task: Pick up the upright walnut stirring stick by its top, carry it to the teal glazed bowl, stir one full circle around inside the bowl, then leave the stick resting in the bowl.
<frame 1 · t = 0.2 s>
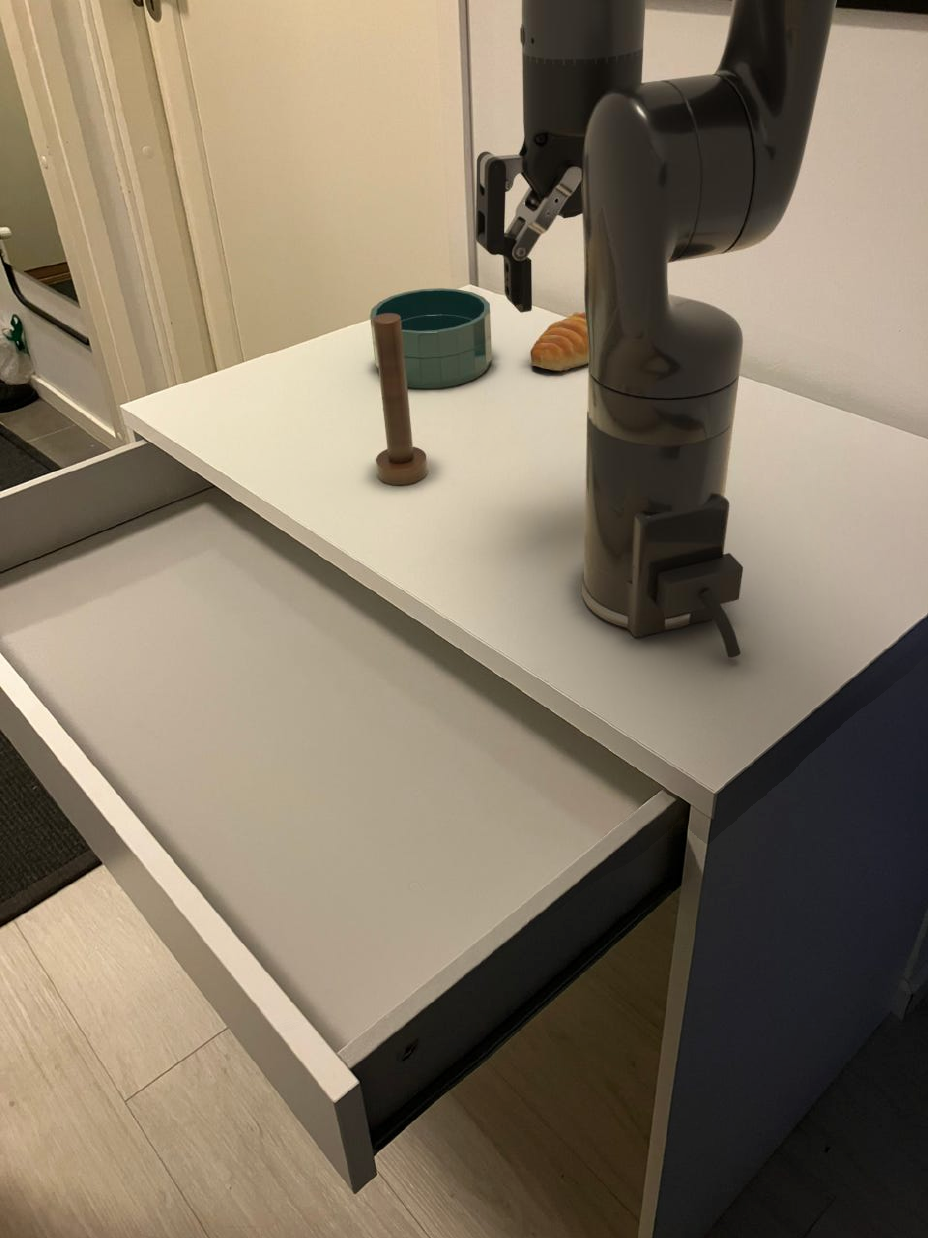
hand: (578, 299, 73), 17 cm above the table, tool pointing down, fingers open, 8 cm apart
pastry: (572, 358, 107), on the table
stick: (402, 472, 89), on the table
bowl: (434, 364, 107), on the table
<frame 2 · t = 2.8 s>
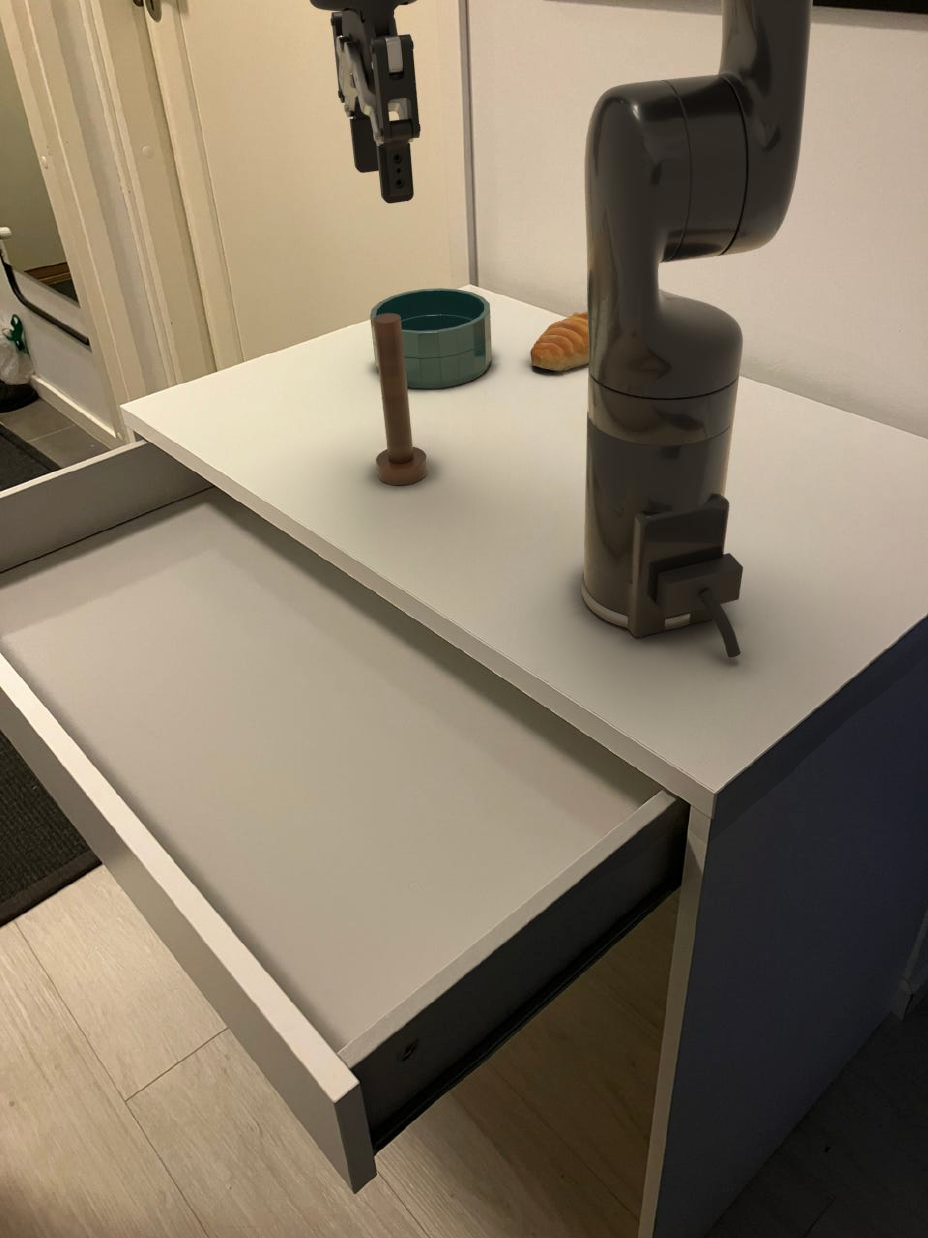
hand: (383, 185, 74), 24 cm above the table, tool pointing down, fingers open, 8 cm apart
nothing on the table moved.
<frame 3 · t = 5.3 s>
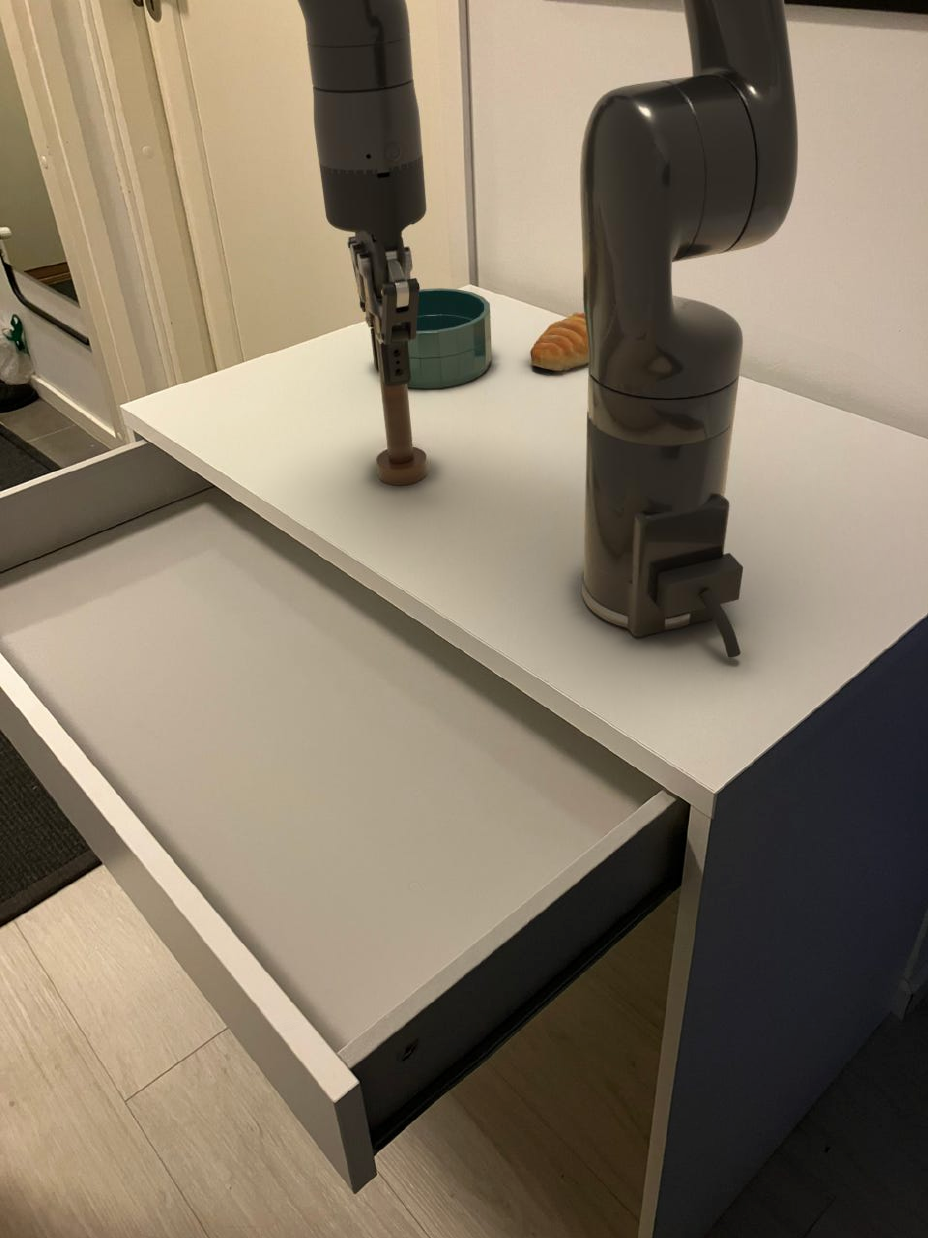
hand: (393, 376, 84), 9 cm above the table, tool pointing down, fingers closed on stick, 2 cm apart
stick: (402, 472, 89), on the table, touching gripper
everything else where it was.
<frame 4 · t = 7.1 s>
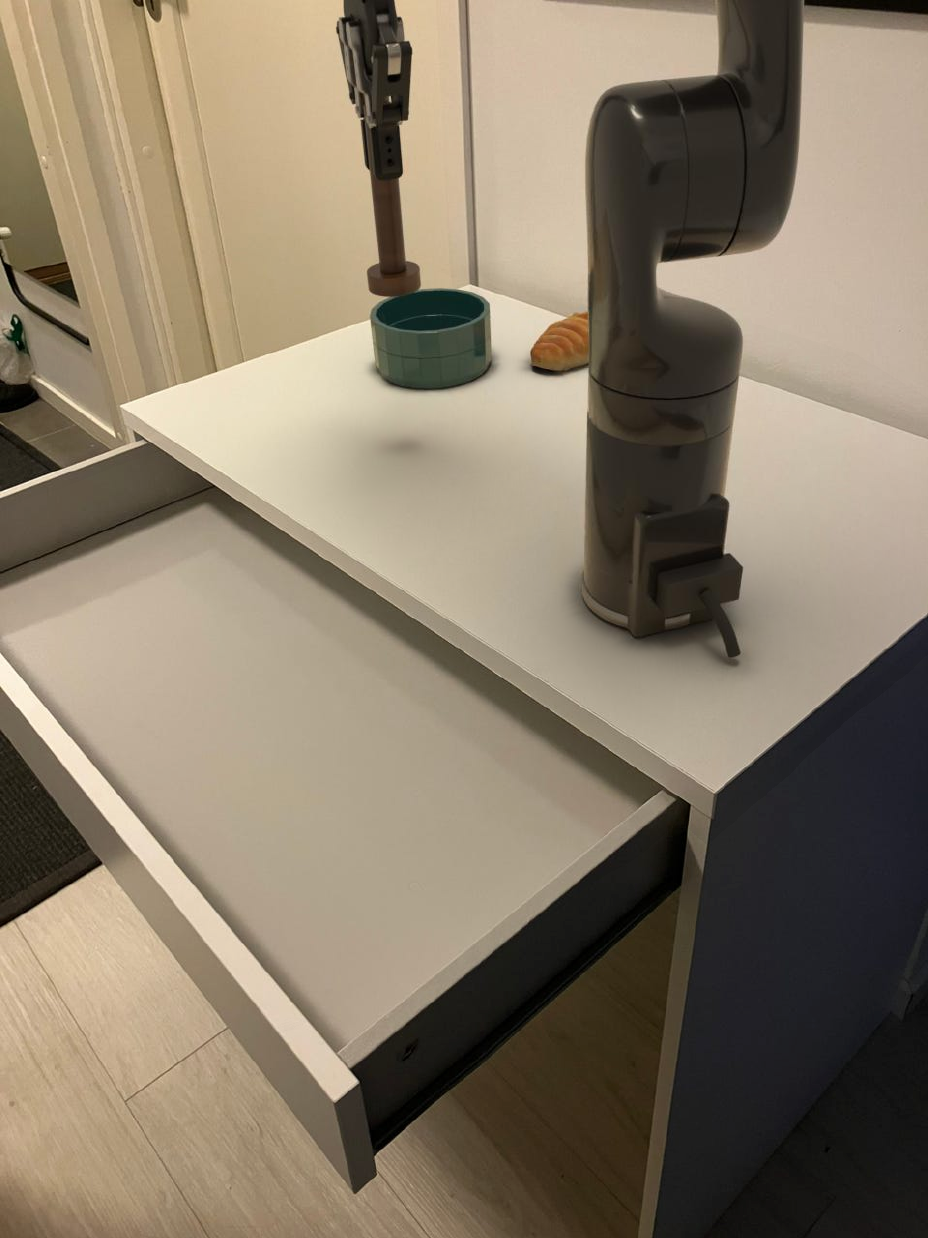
hand: (384, 172, 79), 23 cm above the table, tool pointing down, fingers closed on stick
stick: (394, 287, 85), point 14 cm above the table, touching gripper
everything else where it was.
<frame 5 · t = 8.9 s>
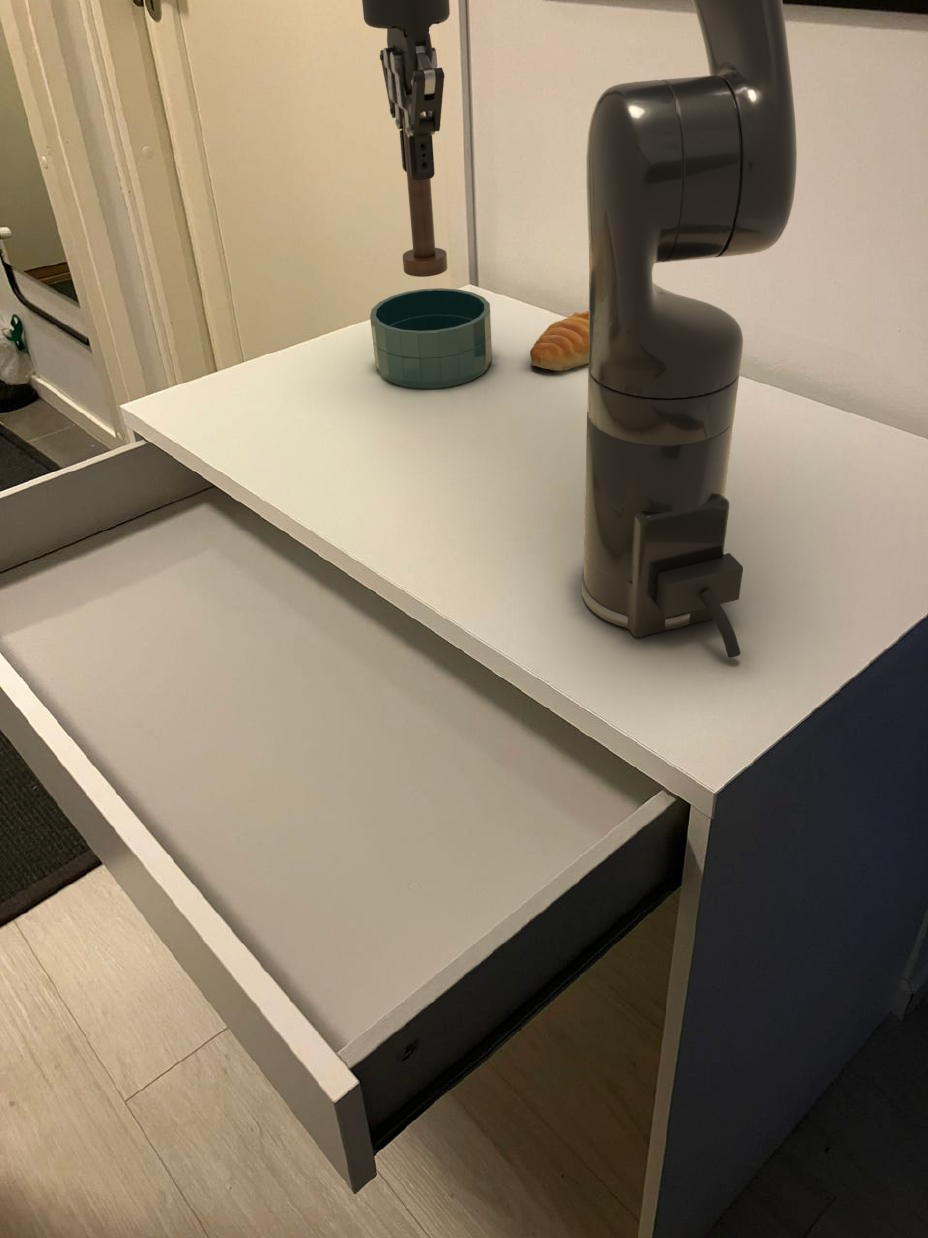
hand: (418, 173, 96), 19 cm above the table, tool pointing down, fingers closed on stick
stick: (425, 269, 102), point 10 cm above the table, touching gripper
everything else where it was.
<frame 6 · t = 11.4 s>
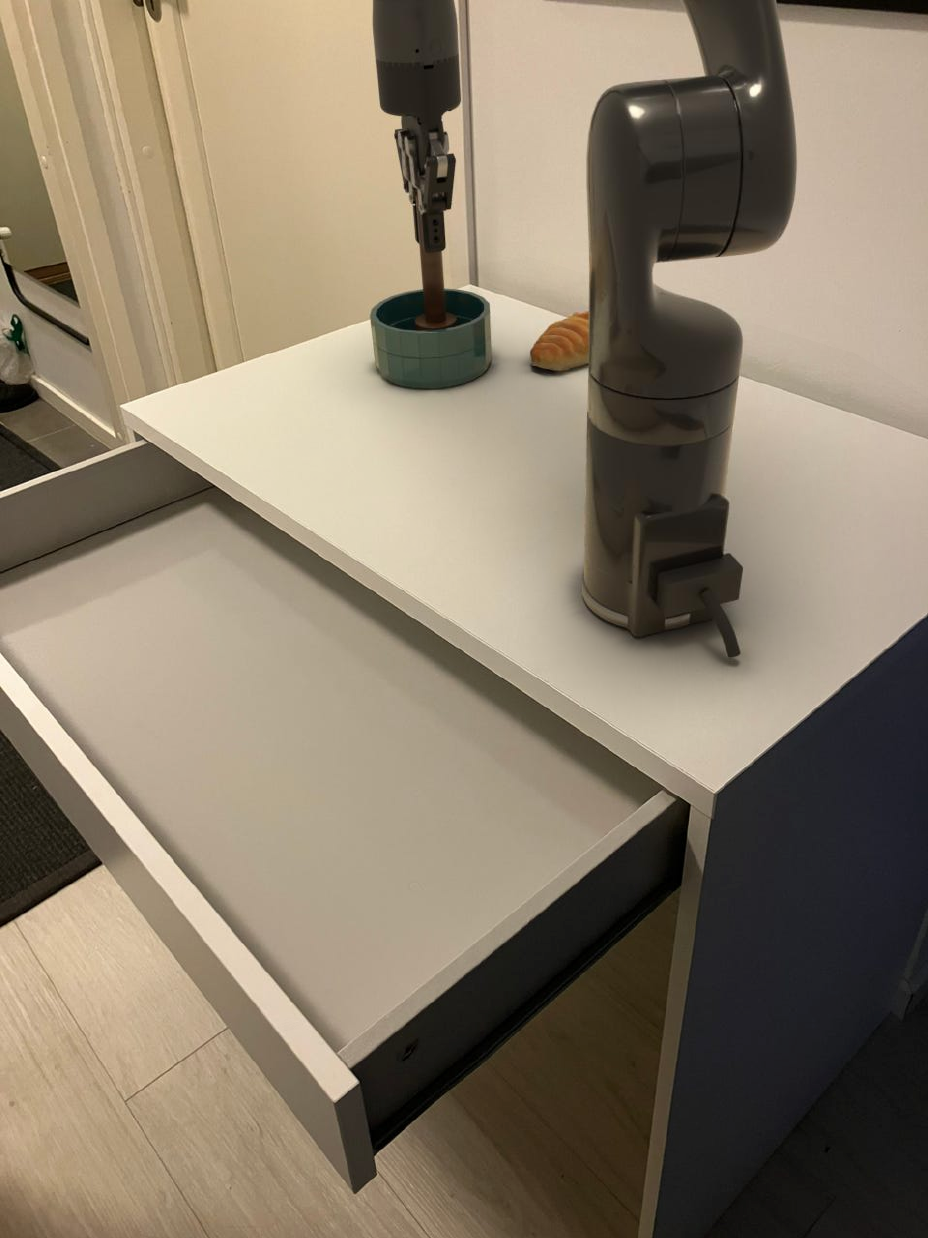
hand: (430, 245, 101), 12 cm above the table, tool pointing down, fingers closed on stick, 2 cm apart
stick: (436, 333, 107), point 3 cm above the table, touching gripper
everything else where it was.
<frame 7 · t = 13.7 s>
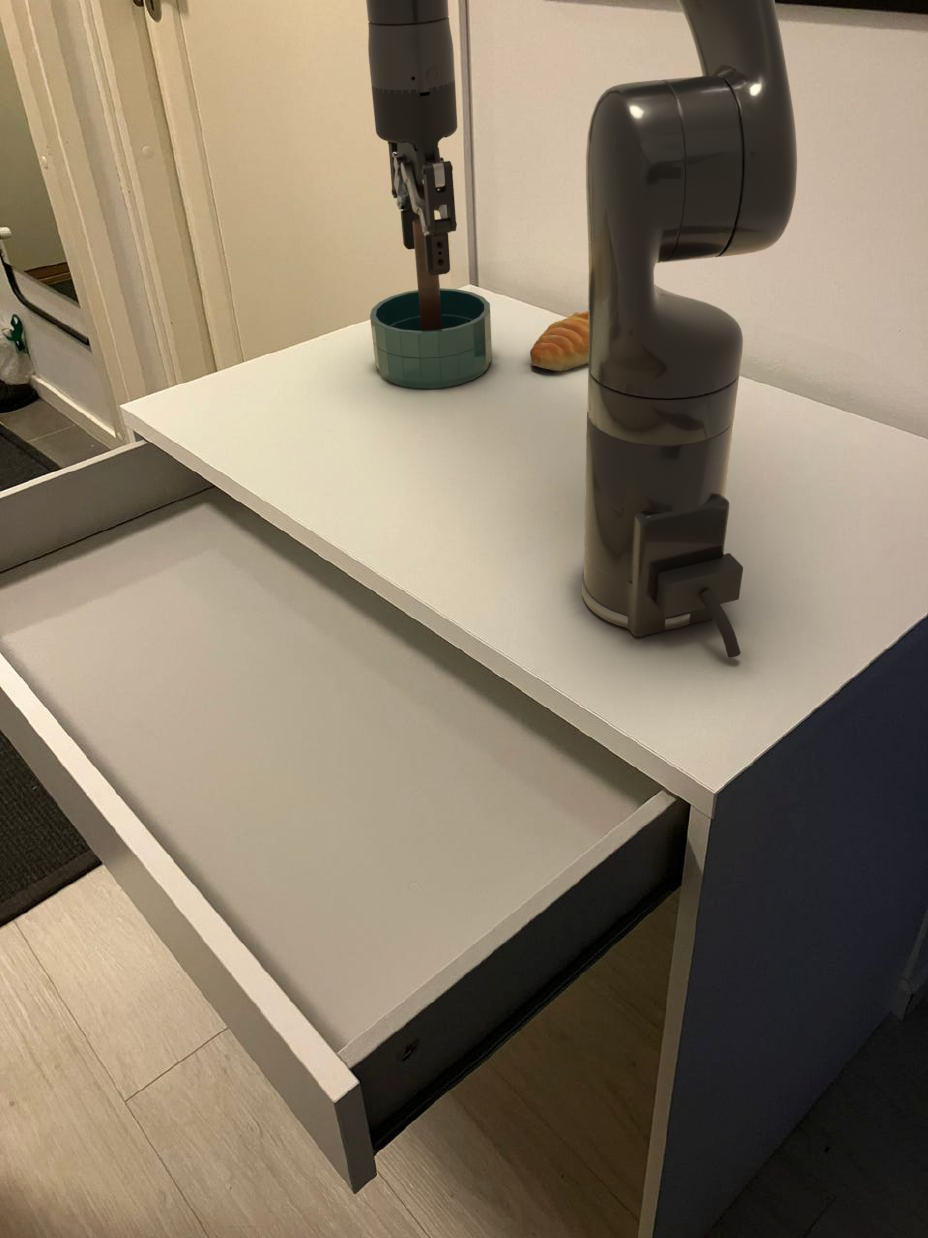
hand: (426, 260, 100), 11 cm above the table, tool pointing down, fingers open, 8 cm apart
stick: (433, 357, 107), point 1 cm above the table, touching bowl
everything else where it was.
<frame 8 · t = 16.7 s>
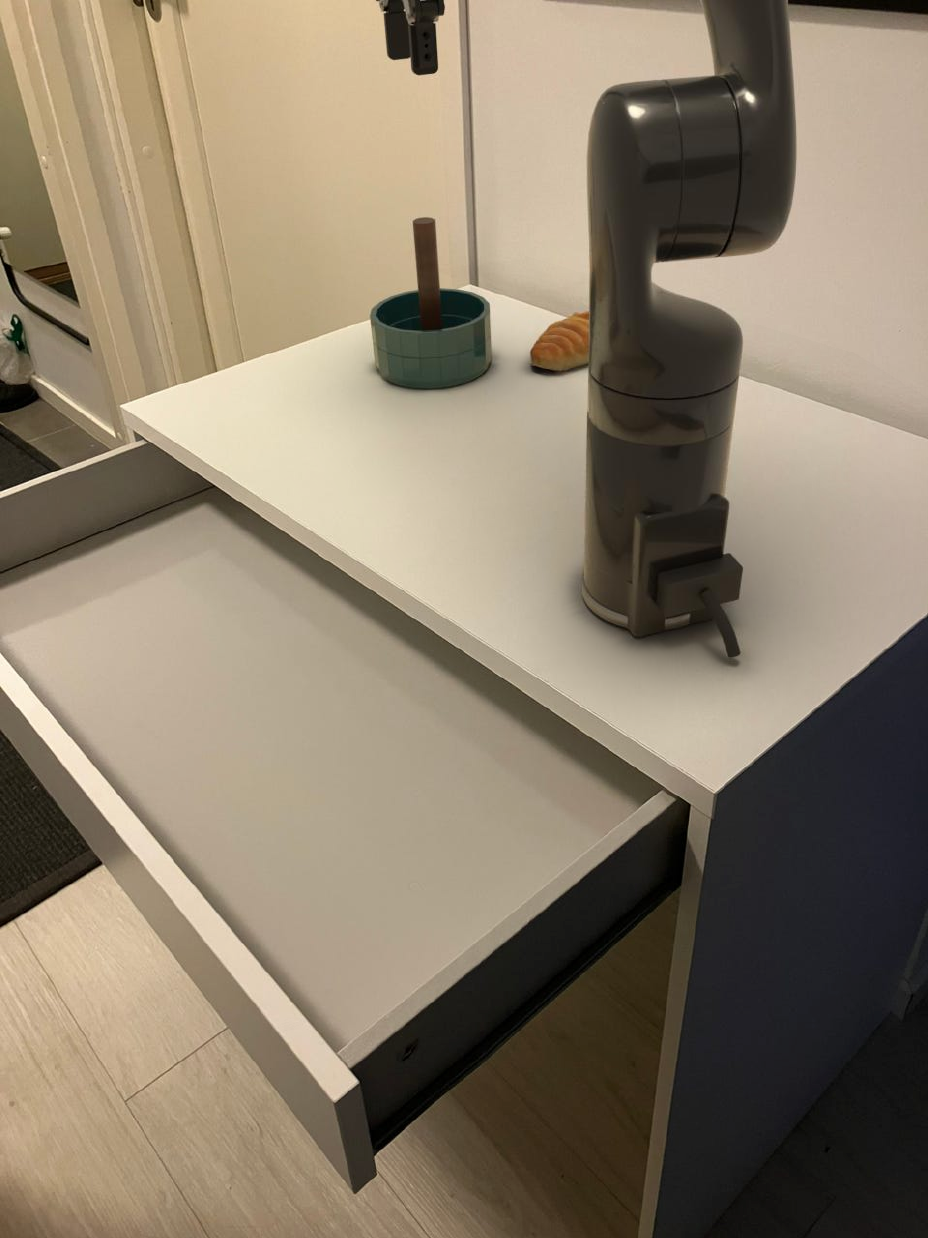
hand: (412, 65, 90), 28 cm above the table, tool pointing down, fingers open, 8 cm apart
nothing on the table moved.
at the end: stick inside the target area in the bowl (0.0 cm from its centre), point 0.8 cm above the bowl's base; the gripper is holding nothing; stick moved 22.9 cm from its start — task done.
